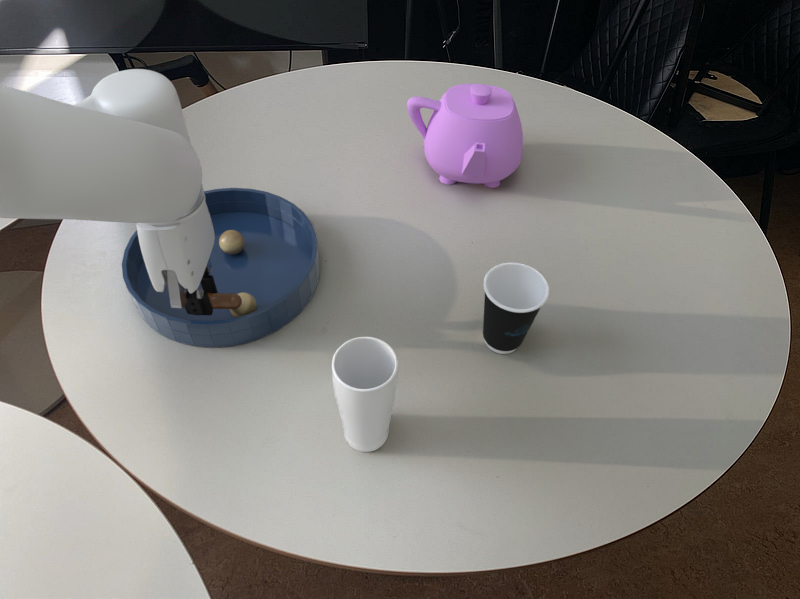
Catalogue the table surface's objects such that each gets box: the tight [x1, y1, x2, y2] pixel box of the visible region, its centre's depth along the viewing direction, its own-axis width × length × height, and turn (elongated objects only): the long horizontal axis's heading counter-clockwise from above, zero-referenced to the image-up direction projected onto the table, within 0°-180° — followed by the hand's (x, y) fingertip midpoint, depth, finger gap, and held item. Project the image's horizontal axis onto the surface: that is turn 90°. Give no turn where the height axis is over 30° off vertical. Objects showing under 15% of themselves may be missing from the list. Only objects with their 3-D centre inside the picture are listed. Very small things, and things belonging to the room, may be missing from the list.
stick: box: [184, 293, 242, 309], centre depth 76 cm, size 2×9×2 cm, turn 88°
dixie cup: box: [482, 261, 550, 355], centre depth 76 cm, size 8×8×11 cm
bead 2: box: [230, 292, 257, 317], centre depth 80 cm, size 4×4×4 cm
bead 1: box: [219, 230, 245, 255], centre depth 87 cm, size 4×4×4 cm
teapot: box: [406, 83, 524, 189], centre depth 97 cm, size 20×20×15 cm
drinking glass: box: [331, 336, 399, 453], centre depth 65 cm, size 7×7×15 cm
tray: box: [121, 187, 321, 348], centre depth 85 cm, size 26×26×5 cm
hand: (203, 304), depth 77 cm, fingers closed on stick, 2 cm apart
